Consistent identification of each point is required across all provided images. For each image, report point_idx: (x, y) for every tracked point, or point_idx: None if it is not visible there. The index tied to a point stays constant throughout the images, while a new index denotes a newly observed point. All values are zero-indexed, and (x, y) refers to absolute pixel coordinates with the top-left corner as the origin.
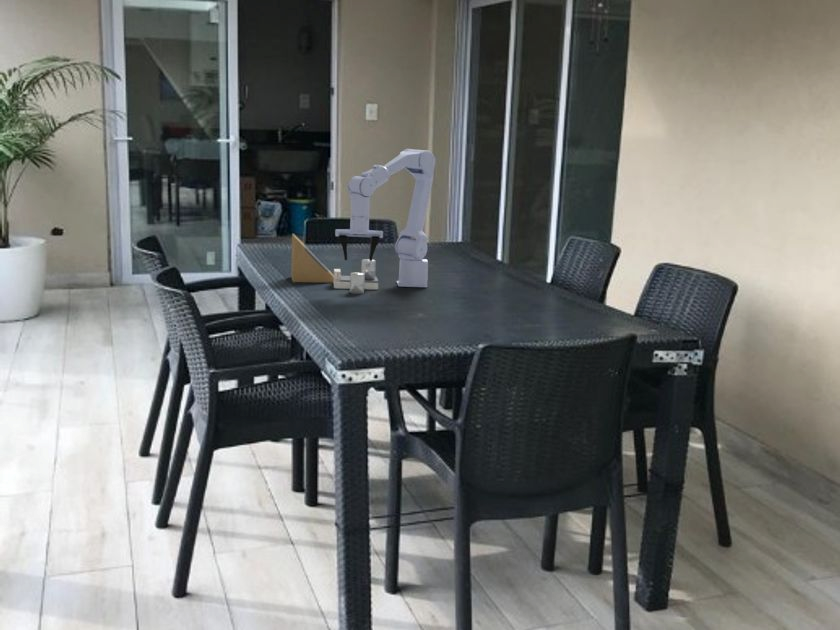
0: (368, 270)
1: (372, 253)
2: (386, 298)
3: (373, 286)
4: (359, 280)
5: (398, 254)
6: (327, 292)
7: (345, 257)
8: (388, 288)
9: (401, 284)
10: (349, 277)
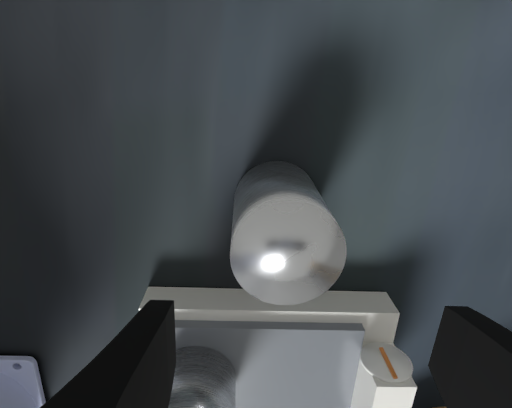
0: (190, 395)
1: (107, 359)
2: (94, 29)
3: (171, 297)
4: (274, 188)
5: None
6: (448, 184)
7: (487, 320)
8: (91, 320)
9: (18, 380)
10: (300, 396)
